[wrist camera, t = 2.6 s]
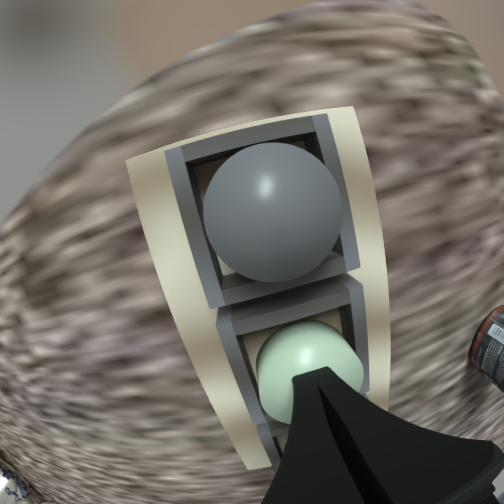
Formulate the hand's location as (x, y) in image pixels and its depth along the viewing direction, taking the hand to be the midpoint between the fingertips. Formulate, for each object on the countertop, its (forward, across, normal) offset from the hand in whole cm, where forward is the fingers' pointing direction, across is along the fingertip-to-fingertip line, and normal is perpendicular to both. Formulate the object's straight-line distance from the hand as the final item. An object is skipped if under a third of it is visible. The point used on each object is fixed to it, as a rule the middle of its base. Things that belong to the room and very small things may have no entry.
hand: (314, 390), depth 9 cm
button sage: (+2, 0, 0) cm, 2 cm away
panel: (+5, 0, 0) cm, 5 cm away
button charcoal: (+2, 0, -6) cm, 7 cm away
